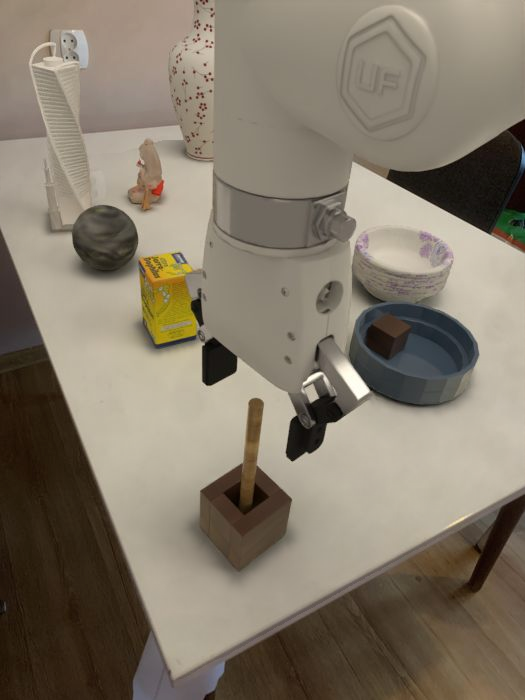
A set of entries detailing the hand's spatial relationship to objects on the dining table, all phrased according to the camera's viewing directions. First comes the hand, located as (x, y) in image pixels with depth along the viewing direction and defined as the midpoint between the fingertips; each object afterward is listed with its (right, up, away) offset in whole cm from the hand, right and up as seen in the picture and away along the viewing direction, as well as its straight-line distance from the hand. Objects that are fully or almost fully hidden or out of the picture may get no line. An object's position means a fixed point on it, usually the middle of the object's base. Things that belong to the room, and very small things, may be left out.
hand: (259, 411), depth 42 cm
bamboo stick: (-2, -13, +11) cm, 17 cm away
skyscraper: (-34, +28, +57) cm, 72 cm away
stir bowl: (+20, +3, +33) cm, 38 cm away
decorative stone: (-25, +18, +46) cm, 55 cm away
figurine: (-23, +34, +65) cm, 77 cm away
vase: (-13, +51, +86) cm, 101 cm away
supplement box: (-13, +7, +34) cm, 37 cm away
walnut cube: (+18, +5, +34) cm, 39 cm away
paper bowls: (+22, +15, +47) cm, 54 cm away
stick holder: (-2, -13, +11) cm, 17 cm away
